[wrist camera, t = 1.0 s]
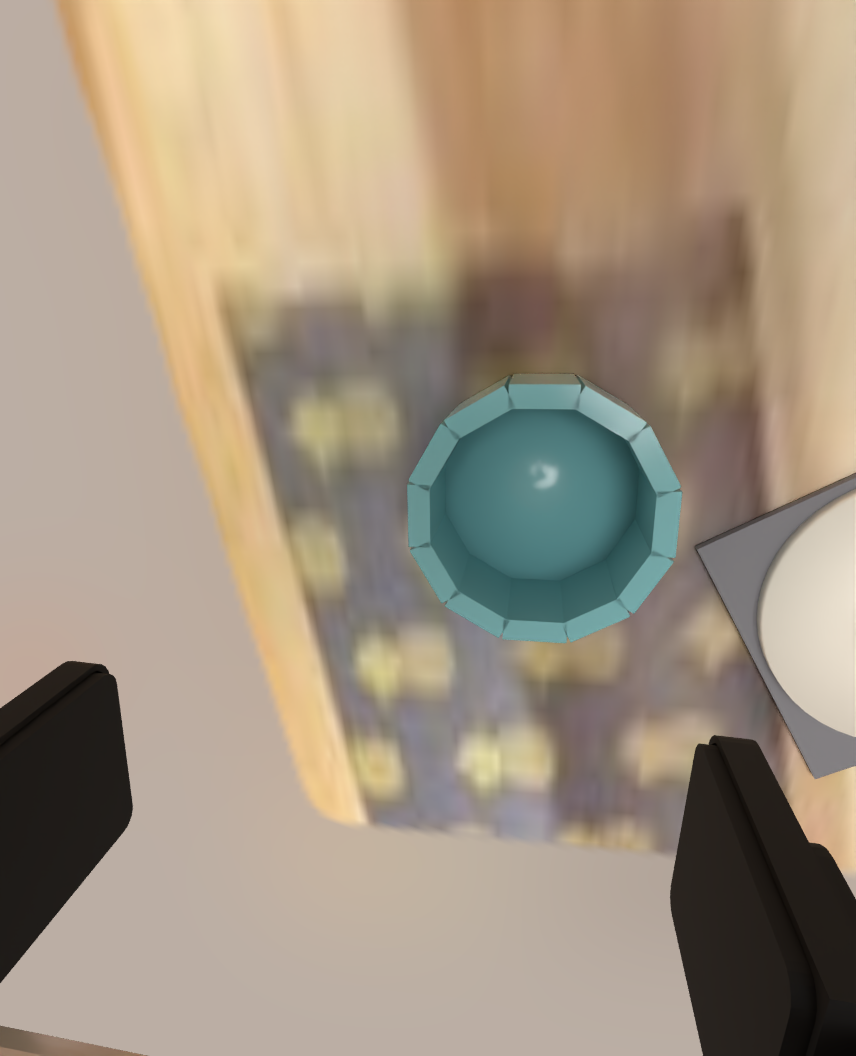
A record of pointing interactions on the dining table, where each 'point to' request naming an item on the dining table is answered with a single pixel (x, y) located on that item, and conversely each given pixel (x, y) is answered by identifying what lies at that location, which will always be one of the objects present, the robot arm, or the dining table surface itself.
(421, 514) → the bowl
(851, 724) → the lid
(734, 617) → the mat
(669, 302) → the dining table surface
